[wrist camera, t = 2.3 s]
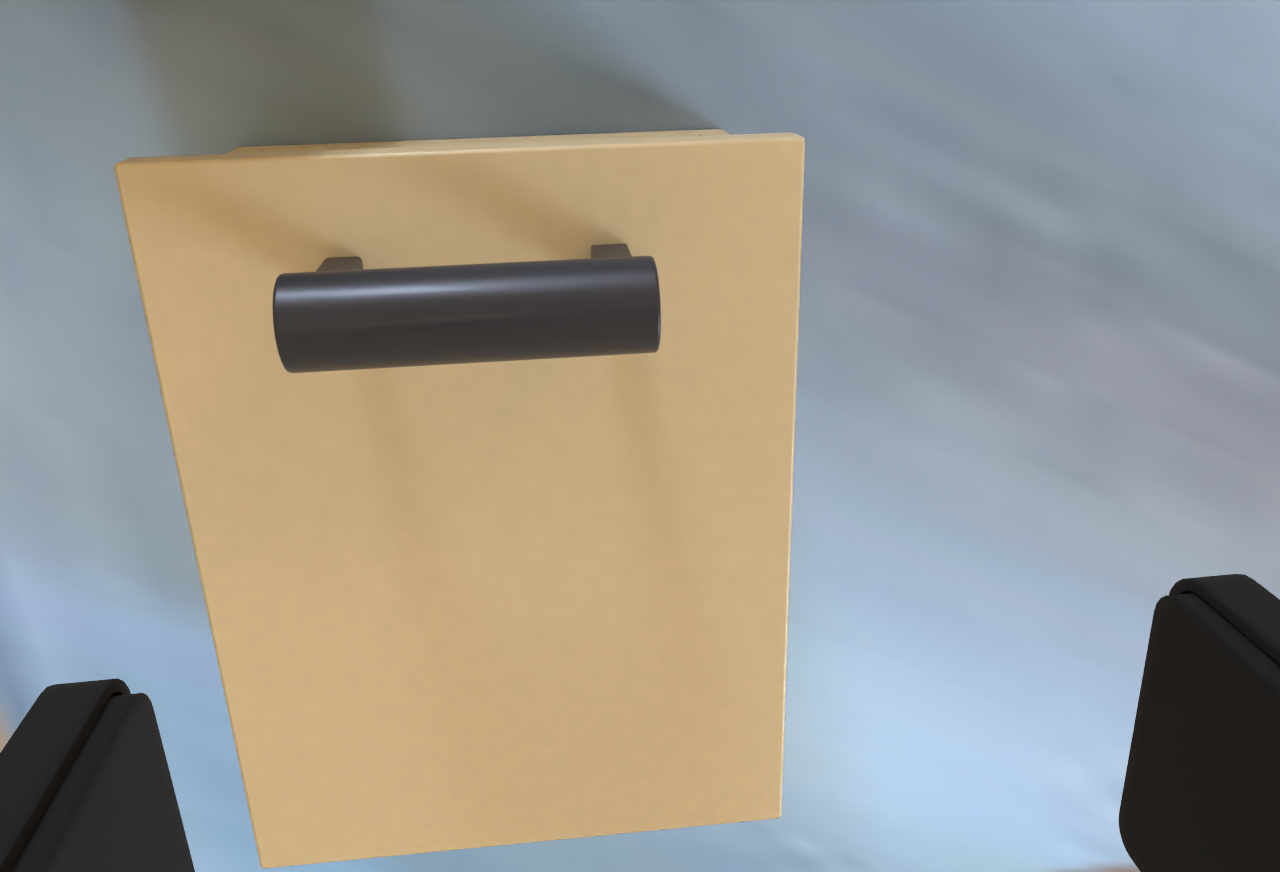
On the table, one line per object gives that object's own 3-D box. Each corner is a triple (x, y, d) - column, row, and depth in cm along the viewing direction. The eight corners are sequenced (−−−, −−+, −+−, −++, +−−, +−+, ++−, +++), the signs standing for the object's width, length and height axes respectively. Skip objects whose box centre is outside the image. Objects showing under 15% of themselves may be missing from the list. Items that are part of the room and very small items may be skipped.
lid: (126, 157, 20) (12, 203, 15) (796, 131, 21) (871, 167, 16) (267, 845, 26) (216, 1019, 21) (775, 796, 27) (825, 953, 23)
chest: (236, 146, 27) (136, 200, 20) (723, 128, 28) (794, 173, 21) (321, 660, 33) (267, 844, 26) (719, 628, 34) (774, 795, 27)
